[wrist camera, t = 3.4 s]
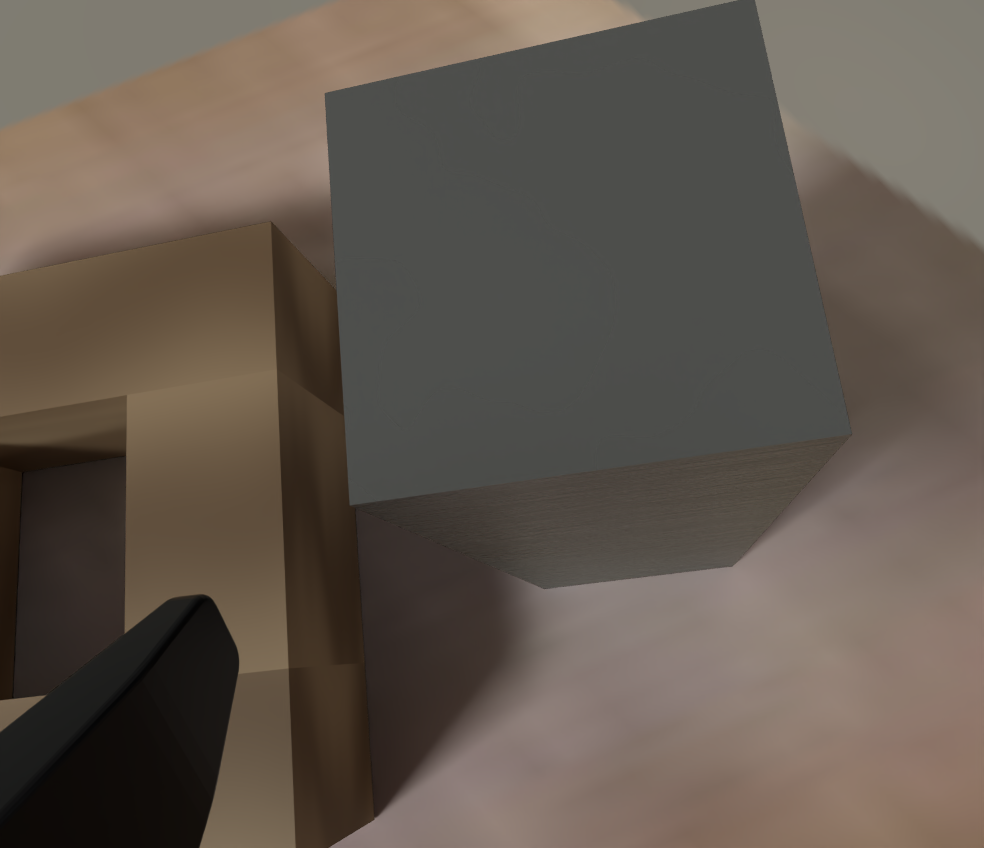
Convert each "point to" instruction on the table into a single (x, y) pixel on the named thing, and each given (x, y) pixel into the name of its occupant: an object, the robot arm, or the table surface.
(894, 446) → the table surface
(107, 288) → the brown square wooden frame
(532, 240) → the grey rectangular block
